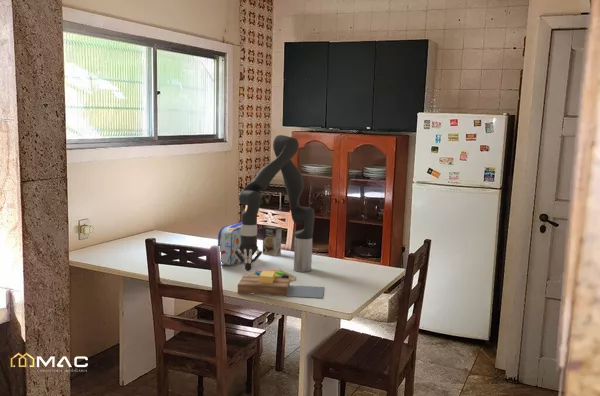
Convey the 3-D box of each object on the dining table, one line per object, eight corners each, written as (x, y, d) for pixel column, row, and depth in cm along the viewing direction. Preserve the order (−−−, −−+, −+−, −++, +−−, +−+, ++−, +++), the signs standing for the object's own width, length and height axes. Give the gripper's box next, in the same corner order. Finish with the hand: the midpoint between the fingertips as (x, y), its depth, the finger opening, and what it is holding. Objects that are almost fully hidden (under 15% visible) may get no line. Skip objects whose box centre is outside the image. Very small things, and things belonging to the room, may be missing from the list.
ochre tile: (262, 277, 259) (262, 270, 259) (274, 277, 259) (275, 271, 258) (259, 282, 250) (259, 276, 250) (272, 283, 250) (272, 276, 250)
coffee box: (262, 254, 320) (262, 226, 318) (268, 252, 326) (269, 225, 324) (275, 256, 316) (275, 228, 314) (281, 254, 321) (282, 227, 319)
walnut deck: (243, 284, 260) (243, 276, 260) (289, 286, 259) (289, 278, 258) (237, 293, 247) (237, 284, 246) (286, 295, 245) (286, 287, 245)
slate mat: (289, 286, 260) (289, 285, 260) (323, 287, 259) (323, 286, 259) (286, 296, 244) (286, 295, 244) (322, 298, 243) (322, 297, 243)
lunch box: (239, 255, 316) (240, 217, 313) (255, 257, 312) (256, 219, 309) (214, 266, 290) (215, 225, 287) (232, 269, 287) (232, 227, 284)
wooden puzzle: (297, 281, 270) (297, 274, 269) (263, 286, 260) (263, 279, 259) (279, 272, 284) (279, 266, 284) (246, 277, 274) (246, 270, 274)
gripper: (264, 232, 255) (263, 269, 258) (236, 231, 256) (235, 268, 258) (262, 236, 248) (261, 273, 250) (233, 234, 249) (232, 272, 251)
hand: (248, 270), depth 254 cm, fingers closed
